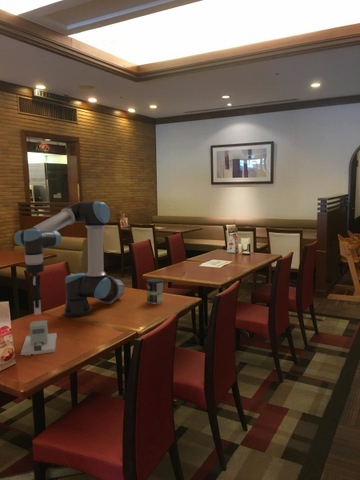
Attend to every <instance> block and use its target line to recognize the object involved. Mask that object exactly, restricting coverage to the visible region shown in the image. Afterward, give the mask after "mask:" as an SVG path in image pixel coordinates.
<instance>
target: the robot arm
mask: <svg viewBox="0 0 360 480" xmlns="http://www.w3.org/2000/svg"><path fill="white" fill-rule="evenodd" d="M110 219H111V211H110V208H109V205H107V203H105V202H103V201H79V202H75V203H72V204H70V205H68V206H65V207H64V208H62V209H61V210H60V212H58V213H57V214H55V215H53V216H51V217H50V218H47V219H45V220H43V221H41V222H40V223H38V224H35V225H34V226H33V227H30V228H29V229H23V230H18V231H17V232H16V233H15V234H14V242H15V243H16V244H17V245H18V246H22V247H24V260H25V272H26V273H27V274H31V275H30V283H31V284H30V285H31V290H32V291H31V292H32V293H31V294H32V299H31V302H33V313H34V316H37V315H42V307H41V306H42V305H41V300H42V299H43V297H41V274H39V273H43V272H44V268H45V266H44V263H43V262H44V258H45V255H44V254H43V253H44V249H48V248H54V247H56V246H57V247H58V246H60V244H61V243H62V235H61V234H60V232H59V230H61V229H62V228H64V227H66V226H70V225H73V224H76V223H84V227H85V228H86V229H87V272H86V273H85V272H77V273H73V274H69V275H67V276H65V279H64V281H65V283H64V284H65V286H64V287H65V305H64V309H63V315H64V316H65V317H69V318H79V317H83V316H84V317H85V316H88V315H89V314H91V312H92V311H91V306H90V303H89V301H88V298H93V299H97V298H104V297H106V296H107V295H108V293H109V291H110V287H111V282H110V280H109V279H108V278H106V276H107V273H106V272H105V271H104V267H105V266H104V228H105V227H106V226H107V223H108V222H109V221H110ZM97 300H98V299H97Z"/></svg>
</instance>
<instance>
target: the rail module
mask: <svg viewBox="0 0 360 480" xmlns="http://www.w3.org/2000/svg"><path fill="white" fill-rule="evenodd" d="M48 334H49V329H48V320H47V319H46V320H35V321H31V322H30V325H29V336H30V338H31V346H35V343H39V342H43V343H44V344H47V343H48Z"/></svg>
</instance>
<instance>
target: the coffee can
mask: <svg viewBox="0 0 360 480" xmlns="http://www.w3.org/2000/svg"><path fill="white" fill-rule="evenodd" d="M163 283H164V280H163V278H158V277H156V278H155V277H153V278H152V277H151V278H148V279H146V302H147V303H148V304H150V303H151V304H153V305H157V304H158V305H159V304H162V303H163V302H164V292H163V291H164V290H163V289H164V285H163ZM151 304H150V305H151Z"/></svg>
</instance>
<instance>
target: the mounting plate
mask: <svg viewBox="0 0 360 480" xmlns="http://www.w3.org/2000/svg"><path fill="white" fill-rule="evenodd" d="M57 334H58V333H57V332H54V333H52V332H51V333H48V343H47V344H44V343H43V342H39V343H35V346H31V338H30V335H26V337H25V339H24V343H23V345H22V347H21V351H20V356H21V355H25V356H31V354H33V355H41V354H47V353H56V345H57V338H58V337H57V336H58V335H57Z"/></svg>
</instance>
